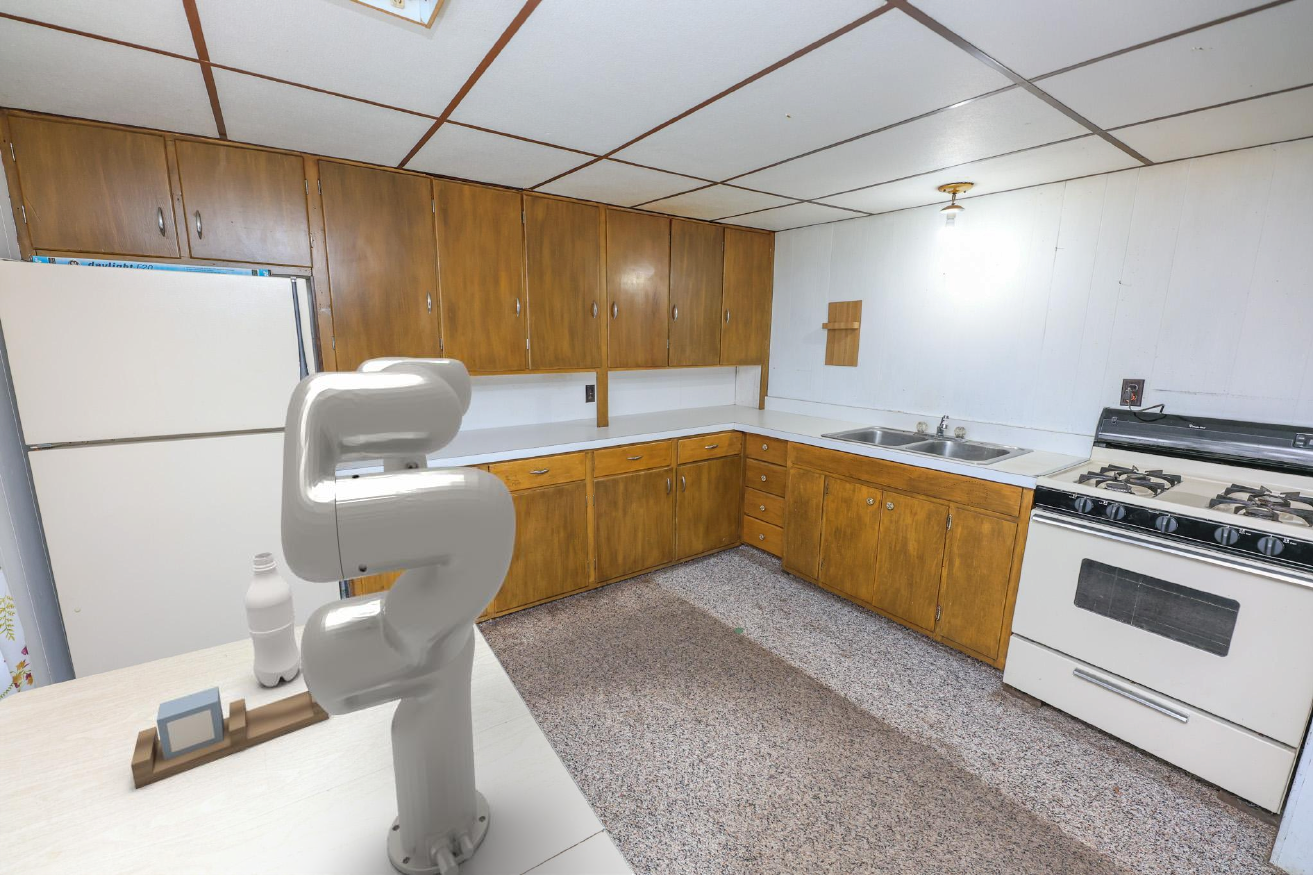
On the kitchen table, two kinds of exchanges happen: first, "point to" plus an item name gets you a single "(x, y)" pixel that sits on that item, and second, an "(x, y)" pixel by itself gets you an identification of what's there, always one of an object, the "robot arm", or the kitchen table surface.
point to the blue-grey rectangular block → (190, 723)
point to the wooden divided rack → (227, 736)
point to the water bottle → (271, 623)
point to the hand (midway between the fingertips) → (409, 540)
